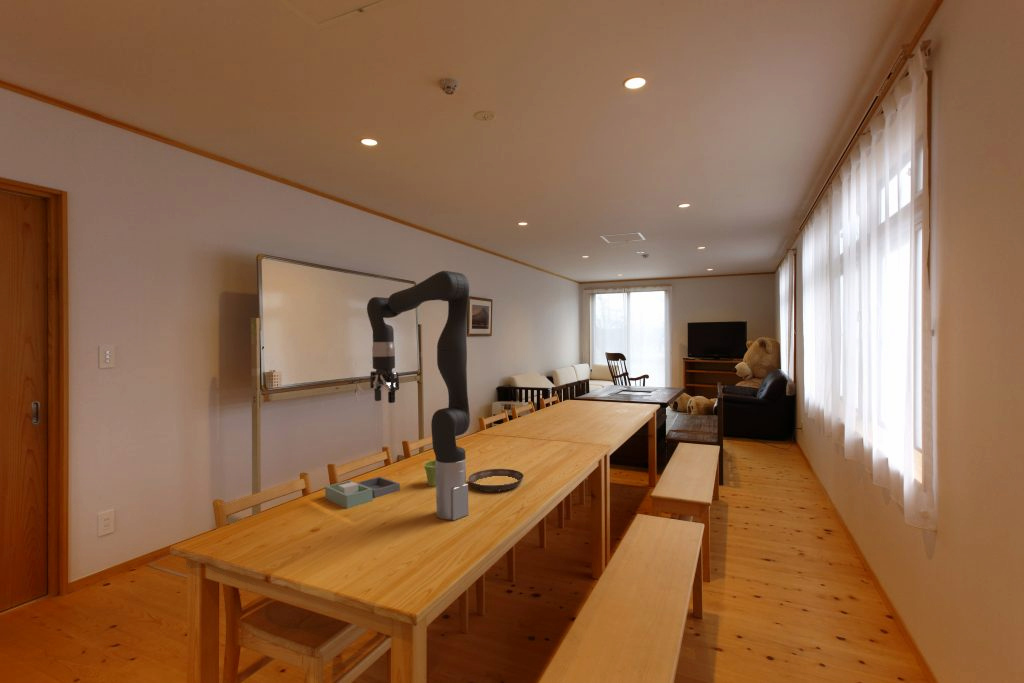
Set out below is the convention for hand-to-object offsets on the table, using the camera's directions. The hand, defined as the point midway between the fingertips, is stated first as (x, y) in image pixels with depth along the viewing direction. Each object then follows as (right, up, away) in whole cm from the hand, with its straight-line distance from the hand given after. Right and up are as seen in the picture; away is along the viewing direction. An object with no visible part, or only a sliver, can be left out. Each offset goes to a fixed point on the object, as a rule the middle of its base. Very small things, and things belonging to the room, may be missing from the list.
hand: (384, 401), depth 163 cm
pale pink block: (-11, -32, -5) cm, 34 cm away
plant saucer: (+38, -33, +12) cm, 52 cm away
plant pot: (+16, -33, +10) cm, 38 cm away
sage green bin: (-11, -33, -5) cm, 35 cm away
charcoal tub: (-4, -33, +4) cm, 34 cm away
